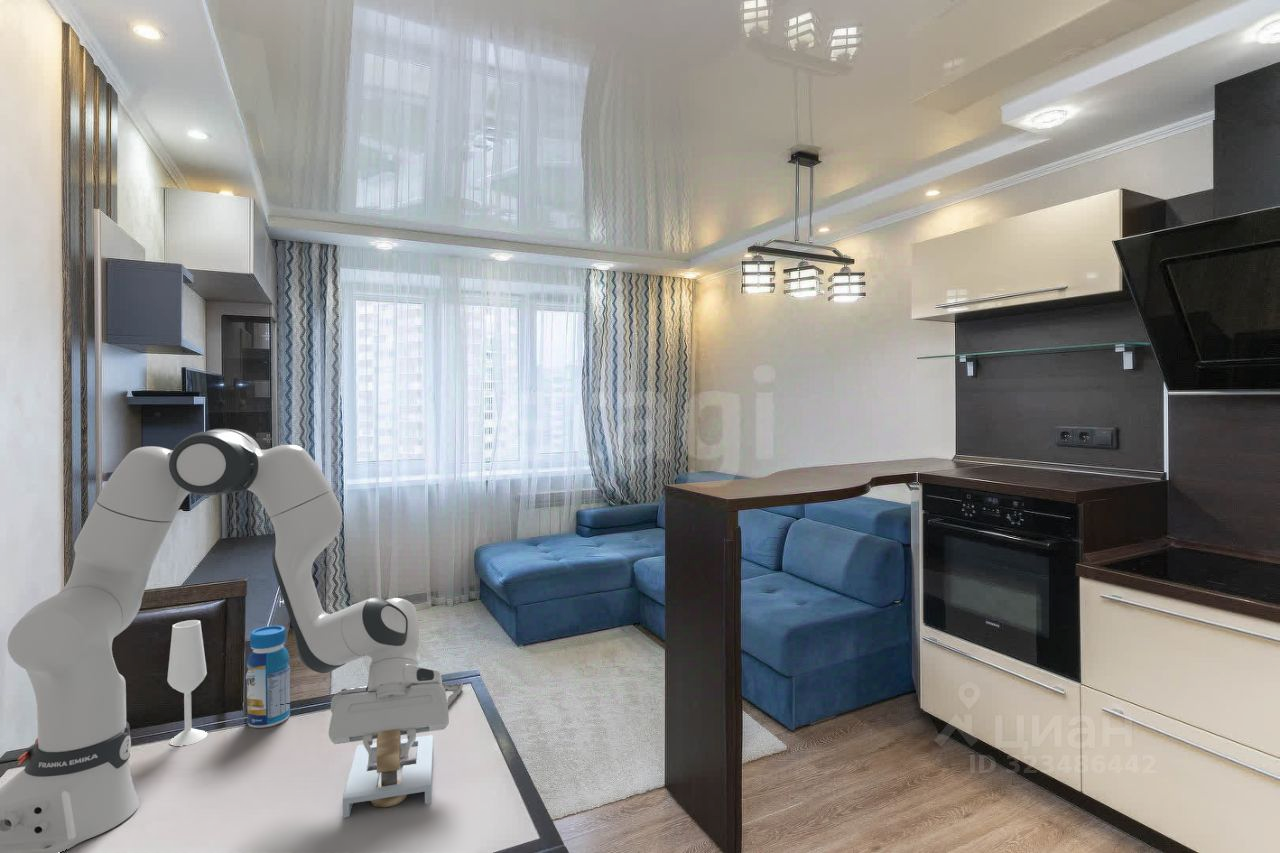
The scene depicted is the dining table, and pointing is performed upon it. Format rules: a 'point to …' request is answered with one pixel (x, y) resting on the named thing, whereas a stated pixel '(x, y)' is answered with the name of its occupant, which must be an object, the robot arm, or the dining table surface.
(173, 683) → the champagne flute
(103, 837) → the dining table surface
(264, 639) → the beverage bottle
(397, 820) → the dining table surface
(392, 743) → the beech peg
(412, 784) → the keyhole plate
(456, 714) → the dining table surface
